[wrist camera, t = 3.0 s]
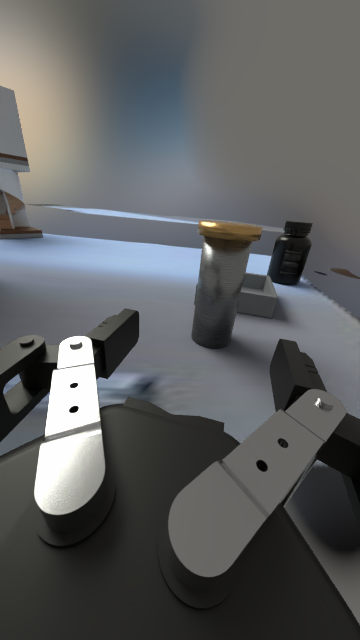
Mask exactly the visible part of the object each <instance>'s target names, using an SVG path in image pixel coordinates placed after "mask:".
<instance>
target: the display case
mask: <svg viewBox="0 0 360 640" xmlns="http://www.w3.org/2000/svg"><path fill="white" fill-rule="evenodd" d="M17 172H30V169H29V164H28V160H27V154H26V150H25V145H24V139H23V135H22V129H21V124H20V119H19V114H18V109H17V104H16V99H15V94H14V91H13V90H10V89H8V88H5V87H2V86H0V239H11V238H33V237H43V235H42V231H41V230H39V229H36V228H32V227H29V223H28V218H27V214H26V209H25V204H24V199H23V194H22V190H21V185H20V181H19V177H18V173H17Z"/></svg>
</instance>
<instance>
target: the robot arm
mask: <svg viewBox="0 0 360 640" xmlns="http://www.w3.org/2000/svg"><path fill="white" fill-rule="evenodd" d="M138 338H139V312H138V311H135V310H130V309H124V310H123V311H122V312H121V313H119V314H118V315H114V316H112V317H109V318H107V319H106V320H105V321H103V323H101V324H100V325H98V326H97V327H96V328H95V329H93V330H92V331H91V332H90V333H88V334H87V335H86V336H85V337H84V336H75V337H71V338H68V339H66V340H64V341H63V342H62V343H61V344H60V345H45V341H44V338H43V337H42V336H39V335H28V336H23V337H20V338H17V339H15V340H14V341H12V342H10V343H9V344H7V345H6V346H4V347H2V348H1V349H0V442H1V441H2V440H3V439H4V438H5V437H6V436H7V435H8V434H9V433H10V432H11V431H12V430H13V429H14V428H15V427H16V426H17V425H18V424H19V423H20V421H21V420H22V419H23V418H24V417H25V416H26V415H27V414H28V413H29V412H30V411H31V410H32V409H33V408H34V407H35V406H36V405H37V404H38V403H39V402H40V401H41V400H42V399H43V398H44V397H45V396H46V395H47V394H48V393H49V392H50V391H51V392H50V400H49V408H48V416H47V425H46V433H45V435H43V436H41V437H39V438H36V439H34V440H32V441H30V442H28V443H26V444H24V445H22V446H20V447H18V448H16V449H14V450H12V451H10V452H8V453H6V454H3V455H1V456H0V640H360V625H359V623H358V622H357V620H356V618H355V617H354V615H353V613H352V611H351V610H350V609H349V607H348V606H347V604H346V602H345V601H344V599H343V598H342V596H341V595H340V593H339V591H338V590H337V588H336V587H335V585H334V584H333V582H332V581H331V579H330V577H329V576H328V574H327V573H326V571H325V570H324V568H323V567H322V565H321V564H320V562H319V561H318V559H317V557H316V556H315V554H314V553H313V551H312V550H311V548H310V547H309V545H308V544H307V542H306V541H305V539H304V537H303V536H302V534H301V533H300V531H299V530H298V528H297V527H296V525H295V524H294V522H293V521H292V519H291V517H290V516H289V514H288V513H287V511H286V510H285V508H284V507H285V505H286V504H287V502H288V501H289V499H290V498H291V496H292V494H293V493H294V492H295V490H296V489H297V487H298V486H299V484H300V483H301V482H302V480H303V479H304V478H305V476H306V475H307V473H308V472H309V471H310V469H311V468H312V466H313V465H314V464H315V462H316V461H317V459H318V460H319V461H321V462H323V463H325V464H327V465H328V466H330V467H332V468H334V469H336V470H338V471H339V472H341V474H342V477H343V481H344V484H345V487H346V490H347V493H348V497H349V500H350V503H351V506H352V510H353V513H354V516H355V519H356V523H357V526H358V529H359V532H360V419H358V418H356V417H354V416H352V415H350V414H348V413H346V409H345V406H344V405H343V404H342V402H341V401H340V400H338V399H337V398H336V397H335V396H333V395H331V394H330V393H328V392H327V391H326V389H325V387H324V384H323V382H322V380H321V378H320V376H319V374H318V371H317V369H316V368H315V365H314V362H313V360H312V359H311V358H310V357H309V356H308V355H307V354H306V353H303V352H300V350H299V348H298V345H297V343H296V342H295V341H290V340H285V339H280V340H279V341H278V344H277V347H276V350H275V353H274V356H273V359H272V361H271V365H270V378H271V384H272V390H273V397H274V403H275V409H276V413H275V414H274V415H272V416H271V417H270V418H269V419H268V420H267V421H266V422H265V423H263V424H262V425H261V426H260V427H259V428H258V429H257V430H256V431H254V432H253V433H252V434H251V435H250V436H249V437H248V438H247V439H245V440H244V441H243V442H242V443H241V444H240V443H239V442H238V441H237V440H236V439H234V438H233V437H232V436H230V435H229V434H227V433H225V432H224V423H223V422H219V421H215V420H212V419H208V418H204V417H201V416H187V415H173V414H170V413H168V412H166V411H164V410H163V409H161V408H159V407H157V406H155V405H153V404H152V403H149V402H146V401H142V400H138V399H135V398H131V397H128V398H127V400H126V401H125V403H124V404H114V405H108V406H104V407H102V408H100V406H99V398H98V389H97V381H96V380H97V379H98V378H99V377H102V378H106V379H108V378H109V377H110V375H111V374H112V373H113V372H114V370H115V369H116V368H117V367H118V366H119V364H120V363H121V362H122V361H123V359H124V358H125V357H126V356H127V354H128V353H129V352H130V351H131V349H132V348H133V347H134V346H135V344H136V343H137V341H138ZM18 373H19V376H20V379H21V381H20V382H19V383H18V384H16V385H15V386H14V387H13V388H12V389H10V390H9V391H8V392H7V393H6V394H3V389H4V386H5V385H6V383H7V382H8V381H10V380H11V379H12V378H13V377H15V376H16V375H17V374H18Z"/></svg>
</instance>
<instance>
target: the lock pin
mask: <svg viewBox="0 0 360 640" xmlns="http://www.w3.org/2000/svg"><path fill="white" fill-rule="evenodd" d="M262 228H263V227H260V226H255V225H249V224H242V223H233V222H222V221H204V220H203V221H199V225H198V234H200V235H203V236H204V239H203V247H202V255H201V263H200V271H199V279H198V287H197V295H196V303H195V312H194V320H193V328H192V339H193V340H194V341H195V342H196V343H197V344H199V345H201V346H203V347H206V348H212V349H219V348H224V347H226V346H227V345H228V344H229V343H230V339H231V335H232V330H233V326H234V321H235V317H236V312H237V308H238V303H239V299H240V294H241V290H242V285H243V281H244V276H245V272H246V267H247V263H248V258H249V254H250V249H251V244H252V241H259V240H260V237H261V232H262Z"/></svg>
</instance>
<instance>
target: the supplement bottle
mask: <svg viewBox="0 0 360 640" xmlns="http://www.w3.org/2000/svg"><path fill="white" fill-rule="evenodd" d="M311 227H312V223H307V222H296V221H286V224H285V228H284V230H285V232H284V234H282V235H280V236H279V237H278V238H277V239H276V242H275V246H274V249H273V253H272V257H271V261H270V265H269V269H268V273H267V276H270V278H271V281H273V282H276V283H280V284H287V285H294V284H297V283H299V281H300V278H301V275H302V272H303V269H304V266H305V263H306V260H307V257H308V254H309V251H310V248H311V245H312V241H311V239H310V238H309V237H308V233H310V230H311Z"/></svg>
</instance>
